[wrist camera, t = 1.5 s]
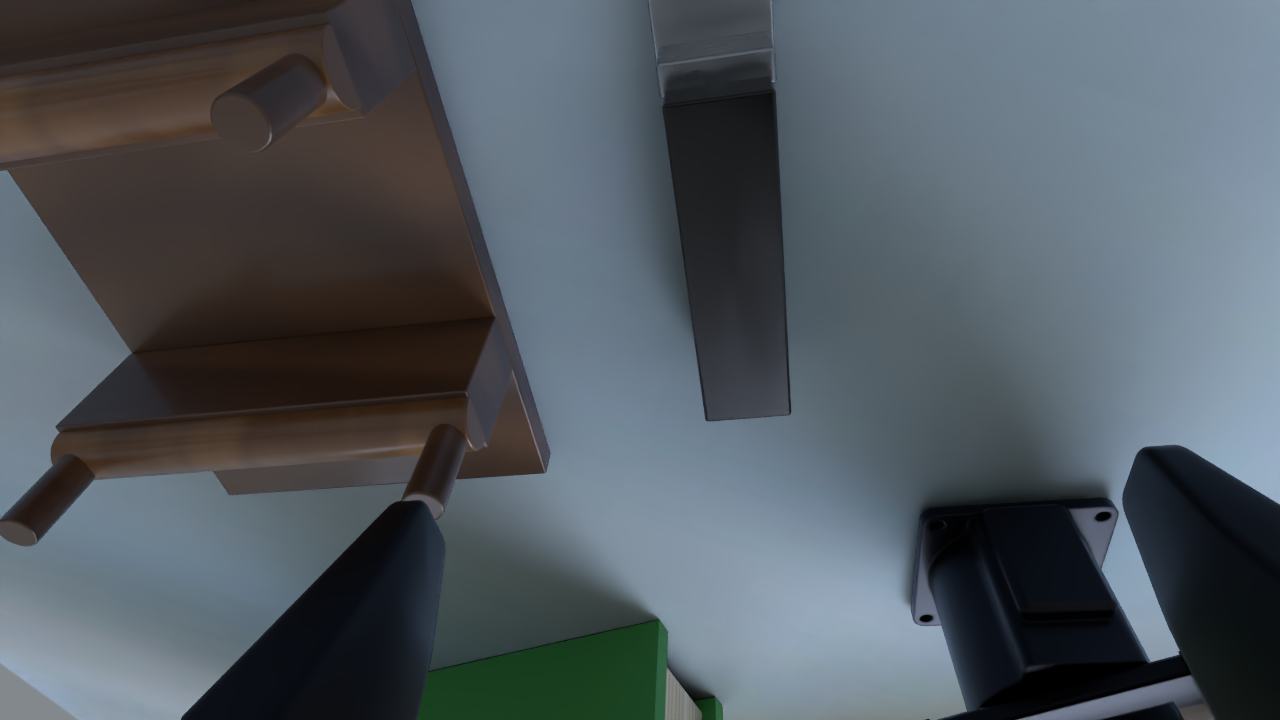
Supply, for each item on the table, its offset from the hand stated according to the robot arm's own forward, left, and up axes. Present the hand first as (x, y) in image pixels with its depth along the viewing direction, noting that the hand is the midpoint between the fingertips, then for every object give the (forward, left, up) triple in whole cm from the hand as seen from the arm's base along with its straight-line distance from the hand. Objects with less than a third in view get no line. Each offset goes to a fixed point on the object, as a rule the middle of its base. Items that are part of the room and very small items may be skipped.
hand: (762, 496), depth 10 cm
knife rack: (0, +13, -12) cm, 18 cm away
